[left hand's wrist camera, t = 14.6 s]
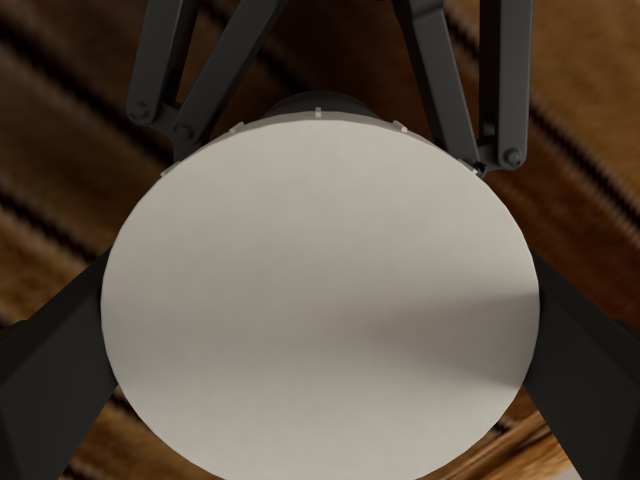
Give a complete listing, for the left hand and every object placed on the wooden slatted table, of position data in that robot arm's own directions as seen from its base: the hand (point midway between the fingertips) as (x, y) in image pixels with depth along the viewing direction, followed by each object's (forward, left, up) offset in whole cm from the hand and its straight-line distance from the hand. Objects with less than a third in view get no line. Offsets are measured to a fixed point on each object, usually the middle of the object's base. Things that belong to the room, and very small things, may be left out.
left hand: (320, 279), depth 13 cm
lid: (0, 0, +3) cm, 3 cm away
